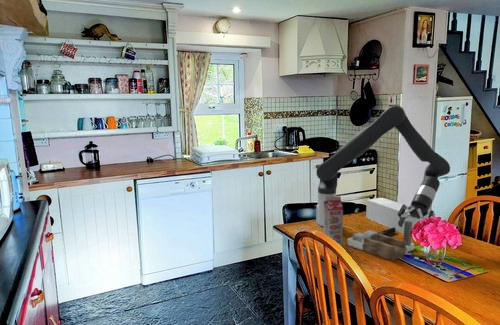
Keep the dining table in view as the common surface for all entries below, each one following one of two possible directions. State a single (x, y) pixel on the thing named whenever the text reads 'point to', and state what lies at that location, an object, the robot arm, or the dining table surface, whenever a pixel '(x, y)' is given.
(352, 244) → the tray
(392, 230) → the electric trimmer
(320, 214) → the robot arm
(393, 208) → the long white block
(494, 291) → the dining table surface
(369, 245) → the wooden box
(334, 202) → the juice carton
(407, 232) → the scraper
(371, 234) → the steel block
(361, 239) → the steel block
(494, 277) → the dining table surface
